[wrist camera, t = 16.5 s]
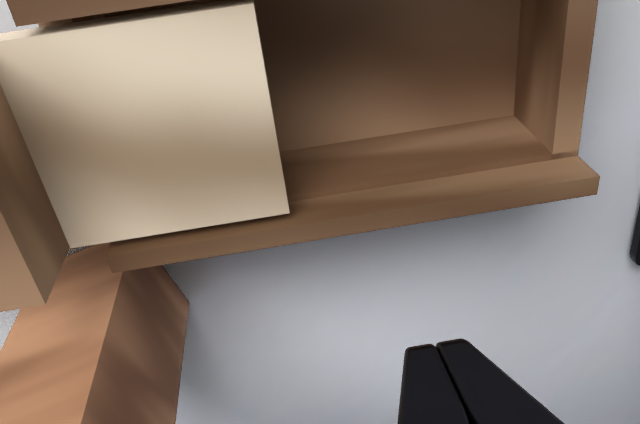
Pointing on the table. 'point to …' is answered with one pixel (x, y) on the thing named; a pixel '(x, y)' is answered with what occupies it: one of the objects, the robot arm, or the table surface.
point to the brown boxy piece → (395, 113)
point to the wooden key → (96, 348)
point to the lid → (130, 135)
